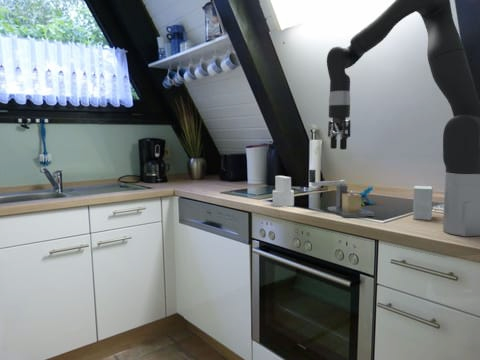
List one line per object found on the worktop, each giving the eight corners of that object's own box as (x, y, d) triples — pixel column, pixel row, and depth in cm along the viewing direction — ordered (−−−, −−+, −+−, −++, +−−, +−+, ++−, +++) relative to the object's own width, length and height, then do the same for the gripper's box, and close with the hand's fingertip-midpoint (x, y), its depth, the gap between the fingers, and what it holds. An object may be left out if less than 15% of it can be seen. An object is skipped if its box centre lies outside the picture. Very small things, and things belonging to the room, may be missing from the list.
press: (374, 216, 125) (374, 190, 124) (344, 218, 124) (345, 191, 123) (353, 207, 141) (353, 184, 140) (326, 209, 139) (326, 185, 138)
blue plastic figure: (360, 197, 157) (374, 182, 150) (369, 207, 154) (384, 193, 148) (346, 203, 150) (360, 189, 143) (356, 214, 147) (371, 200, 141)
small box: (431, 220, 117) (432, 189, 116) (412, 219, 120) (413, 188, 119) (430, 215, 124) (432, 186, 123) (413, 214, 127) (414, 185, 126)
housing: (361, 211, 128) (361, 191, 128) (348, 212, 128) (348, 192, 127) (354, 208, 133) (355, 189, 133) (342, 209, 133) (342, 190, 132)
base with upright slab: (269, 203, 154) (268, 176, 153) (287, 202, 157) (287, 175, 156) (278, 207, 146) (278, 178, 144) (297, 205, 149) (297, 177, 148)
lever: (343, 184, 139) (344, 168, 139) (347, 185, 136) (347, 168, 136) (307, 185, 137) (307, 169, 136) (310, 186, 134) (310, 170, 133)
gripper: (358, 103, 123) (356, 149, 126) (340, 106, 137) (339, 148, 140) (337, 102, 122) (336, 150, 125) (322, 106, 136) (321, 148, 138)
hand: (338, 149), depth 132 cm, fingers open, 8 cm apart
